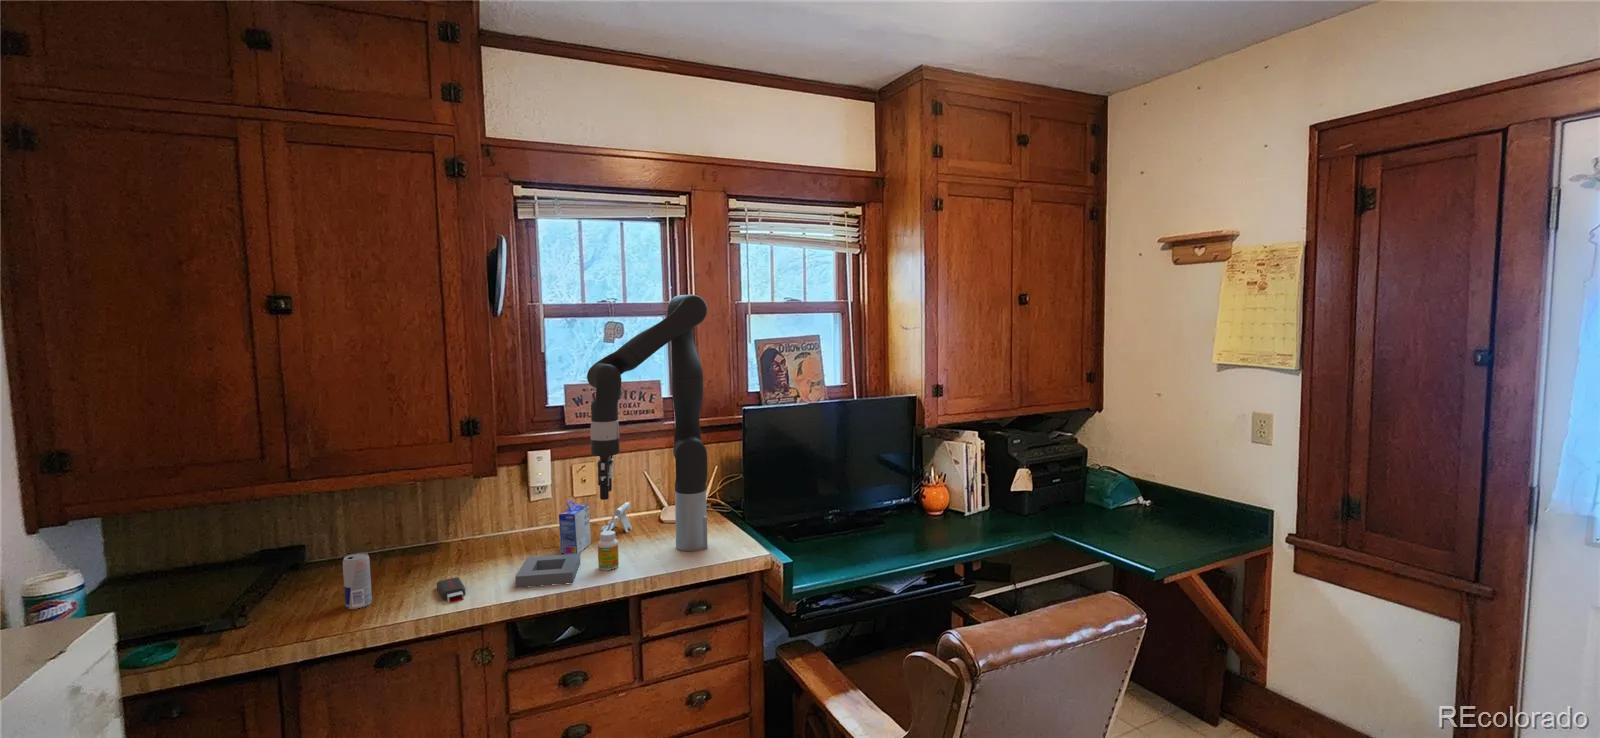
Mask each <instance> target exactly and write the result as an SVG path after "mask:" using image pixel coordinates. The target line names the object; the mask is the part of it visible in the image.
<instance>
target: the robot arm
mask: <svg viewBox="0 0 1600 738" xmlns="http://www.w3.org/2000/svg"><path fill="white" fill-rule="evenodd" d="M666 312H667V316H666V317H665V318H663V319H662V320H661V321H659V322H658V323H656V324H654V325H652V326H651V327H649V328H646V329H645V330H643V331H641V332H639V333H638V334H636V335H635V336H633V337H632V338H631V339H629V340H628V341H626V342H625V343H624V344H622V345H621V346H620V347H619V348H618V349H617V350H615V351H614V352H612V353H610V354H608V355H606V356H605V357H602V358H601V359H599V360H598V361H596V362H595V363H593V365H592V366H590V368H589V369H588V371H587V373H586V380H587V383H588V384H589V385H590V386H591V387H592V388H594V389H595V391H596V392H595V399H593V400H592V402H591V405H590V415H591V416H590V417H591V420H590V422H591V423H590V453H591V455H592V456H595V457H599V459H598V461H597V463H596V467H597V479H598V480H597V485H598V486H599V498H600V500H601V501H603V500H605V501H606V500H609V498H610V495H609V493H610V492H612V490H613V483H612V480H613V479H612V478H613V476H614V475H613V474H614V464H615V463H614V459H613V457H614V456H615V455H618V454H620V450H621V449H620V425H619V406H618V404H619V400H620V396H621V395H620V394H621V389H622V374H624V373H626V372H630V371H633V370H635V369H636V368H638V367H639V366H640V365H641V364H643V363H644V362H645V361H646V360H648V358H650V357H651V356H652V355H653V354H655V353H656V352H658V351H659V350H661V348H663V347H664V346H666V345H667V344H668V343H669V342H670V352H671V353H670V355H671V356H670V359H671V360H670V362H671V393H672V404H673V405H672V406H673V413H674V436H673V448H672V454H673V457H674V459H675V481H674V504H675V505H674V506H675V507H674V509H675V511H674V512H675V548H676V549H677V550H678V551H682V552H696V551H700V550H704V549H708V516H707V515H708V514H707V481H708V452H707V451H708V450H707V447H706V445H705V444H704V443H703V441H702V436H701V427H700V426H701V425H700V415H701V408H702V405H703V399H704V398H703V396H704V370H703V366H702V363H701V360H700V358H699V355H698V353H697V349H696V347H695V343H694V327H696V326H698V325H699V324H701V323H702V322H703V321H704V320H705V318H706V317H707V315H708V305H707V303H706V301H705V300H704V299H703V298H702V297H701V296H699V295H696V294H679V295H676V296H674V297H673V298H672V299H670V301H669V302H668V306H667V311H666Z"/></svg>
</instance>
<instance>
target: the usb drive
mask: <svg viewBox="0 0 1600 738" xmlns="http://www.w3.org/2000/svg"><path fill="white" fill-rule="evenodd" d="M436 590H437V592H438V594H439V596H440V598H441V600H442V601H445V602H448V604H451V602H452V603H455V602H460V601H463V600H464V599H465V598H464V597H465V596H466V588H465V585H464V584H463V582H462V579H460V578H459V577H457V576H455V577H451V578H446V579H443V580H442V579H441V580H439V581H437V582H436Z"/></svg>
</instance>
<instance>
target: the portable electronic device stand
mask: <svg viewBox="0 0 1600 738" xmlns="http://www.w3.org/2000/svg"><path fill="white" fill-rule="evenodd" d="M630 508H631V503H630V502H629V501H625V502H624V503H623V504H622V505H620V506H619V507H618V508H616V509H615V510H614V512H613V513H612V517H611V518H610V519H611V520H610V521H608V522H607V525H604V526H602V527H601V528H600V533H601V532H604V531H612V529H614V528H616V526H617V524H618V522H619V520H620V522H621V525H622V527H623V529H624V531H625V534H628V533H629V530H630V529H631V530H632V529H633V527H632V524H631V523H630V520H629V519H628V516H627V513H626V511H627V510H629V509H630ZM615 517H617V518H616V520H615ZM614 520H615V521H614ZM627 532H628V533H627Z"/></svg>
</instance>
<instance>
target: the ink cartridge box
mask: <svg viewBox="0 0 1600 738" xmlns="http://www.w3.org/2000/svg"><path fill="white" fill-rule="evenodd" d="M565 504H566V505H567V509H565V510H563V511H562V512H560V513H559V514H558V523H559V535H560V536H559V538H560V552H561V554H562V553H564V554H563V555H566V554H578V553H579V554H581V552H582V551H584V550H585V549H586V548H587V547H588V546H590V545H591V543H592V542H591V541H592V539H591V524H590V523H591V522H590V521H591V520H590V507H589V506H590V505H589V504H576V503H575V502H574V501H573V500H572V499H570V500H569V501H568V502H566V503H565ZM571 504H572V505H571ZM584 548H585V549H584Z"/></svg>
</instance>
